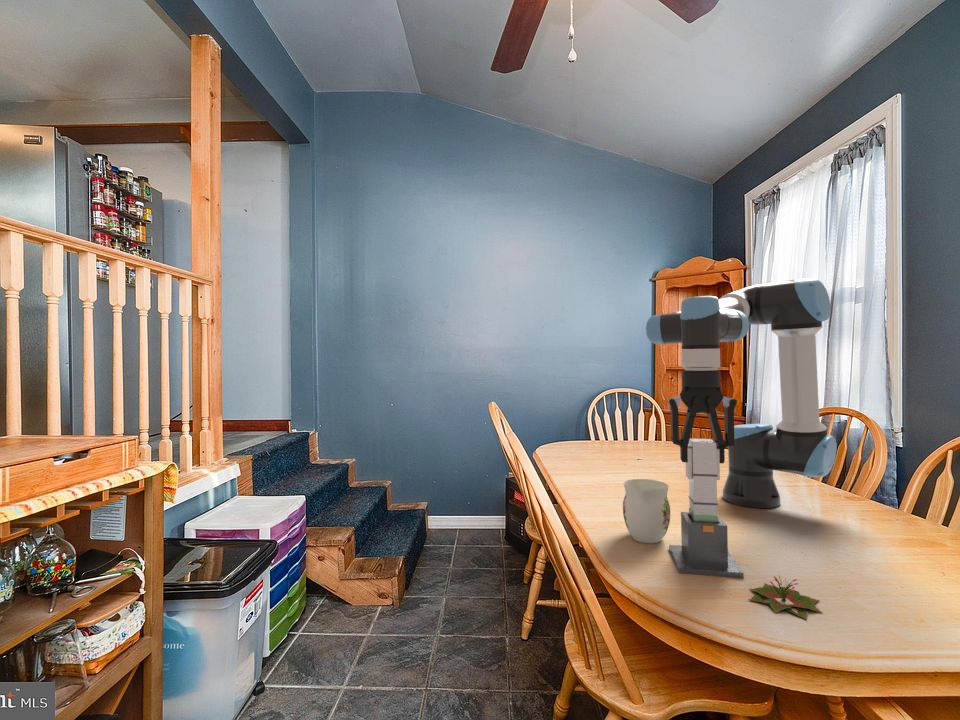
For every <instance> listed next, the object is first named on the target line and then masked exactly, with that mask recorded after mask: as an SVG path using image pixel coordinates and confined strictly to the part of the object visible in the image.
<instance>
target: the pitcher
mask: <svg viewBox="0 0 960 720" xmlns="http://www.w3.org/2000/svg"><path fill="white" fill-rule="evenodd" d="M623 486H624V491H625V495H624V498H623V501H622V515H623V519H624V520H623V521H624V524H625V526H626V529H627V531H628V533H629V534H630V535H631V537H632V539H633V540H634V541H637V542H640V543H645V544H657V543H660V542H661V541H662V539H663V538H664V537H665V535H666V534H667V532H668V529H669V527H670V523H671V505H670V501H669V498H668V492H669V487H670V486H669V484H668V483H665V482H663V481H659V480H655V479H648V478H634V479H628V480H625V481H624V482H623Z"/></svg>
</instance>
